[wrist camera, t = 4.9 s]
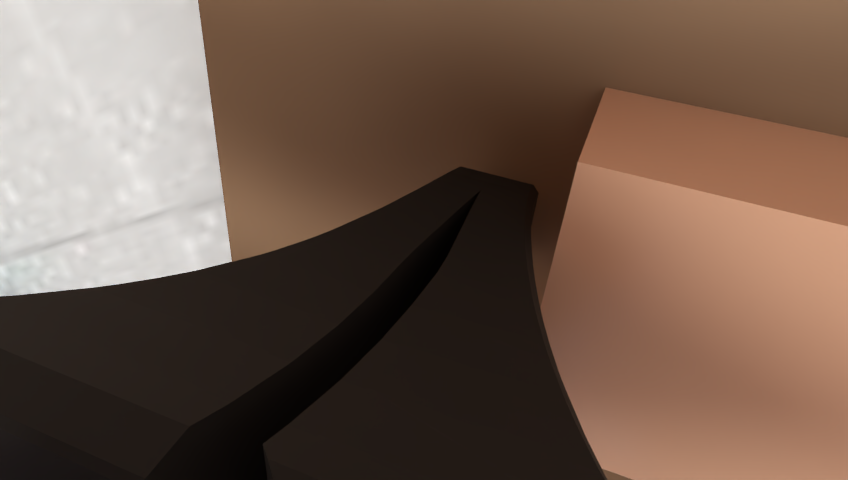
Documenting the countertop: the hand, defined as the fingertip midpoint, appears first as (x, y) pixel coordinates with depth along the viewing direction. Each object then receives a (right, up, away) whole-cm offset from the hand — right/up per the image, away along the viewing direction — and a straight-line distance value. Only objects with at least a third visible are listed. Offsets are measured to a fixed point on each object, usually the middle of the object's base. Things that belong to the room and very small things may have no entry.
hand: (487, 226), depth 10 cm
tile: (+4, -1, 0) cm, 4 cm away
